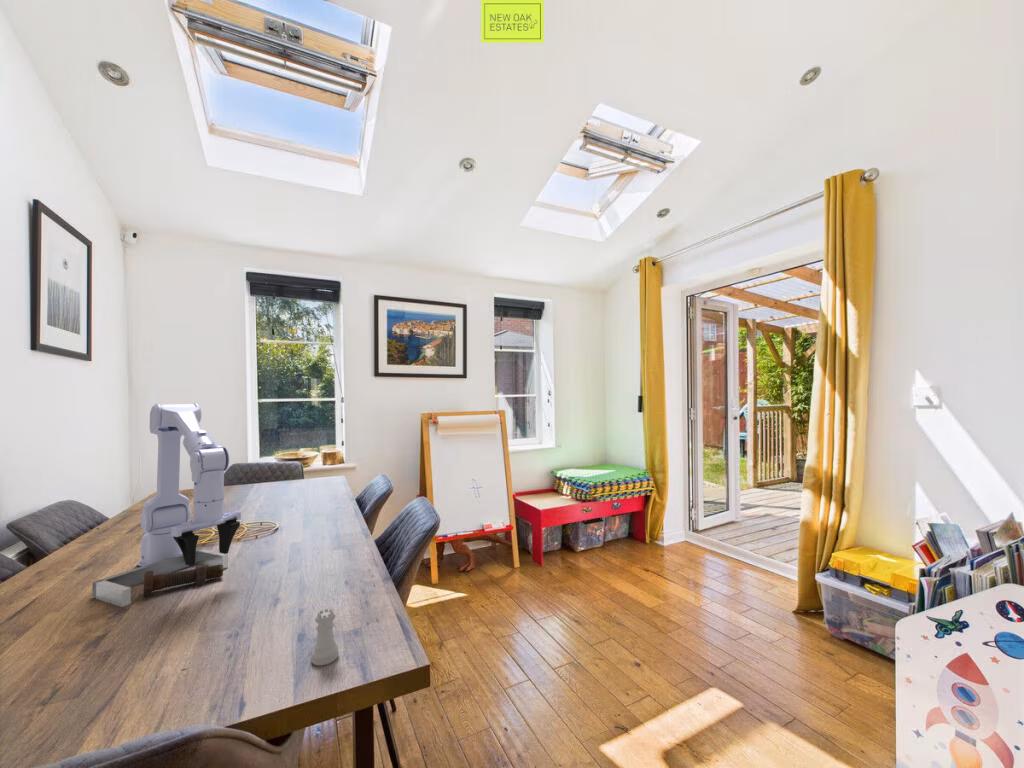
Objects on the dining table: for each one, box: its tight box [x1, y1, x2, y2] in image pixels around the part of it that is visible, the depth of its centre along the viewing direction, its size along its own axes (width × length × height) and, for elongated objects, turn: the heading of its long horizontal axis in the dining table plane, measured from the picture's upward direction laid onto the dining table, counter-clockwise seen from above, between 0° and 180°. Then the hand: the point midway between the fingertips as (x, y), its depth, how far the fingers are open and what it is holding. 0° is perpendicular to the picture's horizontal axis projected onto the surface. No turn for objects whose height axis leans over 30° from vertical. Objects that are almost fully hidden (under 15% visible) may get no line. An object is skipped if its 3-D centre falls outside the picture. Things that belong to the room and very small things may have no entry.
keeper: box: [91, 548, 229, 608], centre depth 104 cm, size 12×23×4 cm, turn 158°
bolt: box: [142, 564, 224, 598], centre depth 102 cm, size 6×5×15 cm
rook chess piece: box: [310, 608, 339, 667], centre depth 74 cm, size 4×4×8 cm
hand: (207, 558), depth 99 cm, fingers open, 7 cm apart
